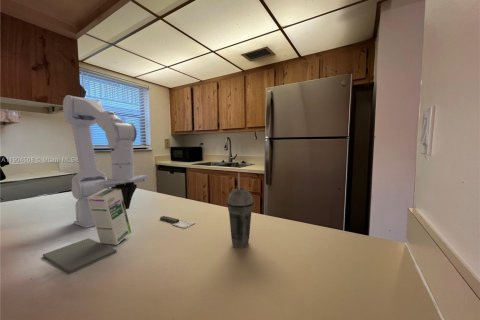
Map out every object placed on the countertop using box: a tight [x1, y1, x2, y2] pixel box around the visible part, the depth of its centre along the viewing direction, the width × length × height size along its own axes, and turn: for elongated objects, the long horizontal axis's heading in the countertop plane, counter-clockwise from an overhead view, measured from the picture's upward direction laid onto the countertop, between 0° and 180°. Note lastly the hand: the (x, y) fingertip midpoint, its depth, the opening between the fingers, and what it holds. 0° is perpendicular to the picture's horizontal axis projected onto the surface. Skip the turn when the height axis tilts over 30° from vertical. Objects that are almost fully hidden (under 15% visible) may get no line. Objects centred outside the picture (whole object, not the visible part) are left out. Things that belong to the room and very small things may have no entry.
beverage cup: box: [226, 172, 254, 249], centre depth 56 cm, size 7×7×20 cm
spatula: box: [159, 215, 196, 229], centre depth 73 cm, size 14×5×1 cm, turn 61°
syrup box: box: [87, 187, 132, 246], centre depth 58 cm, size 6×6×14 cm
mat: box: [42, 237, 117, 274], centre depth 52 cm, size 14×10×1 cm
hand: (125, 208), depth 62 cm, fingers closed
